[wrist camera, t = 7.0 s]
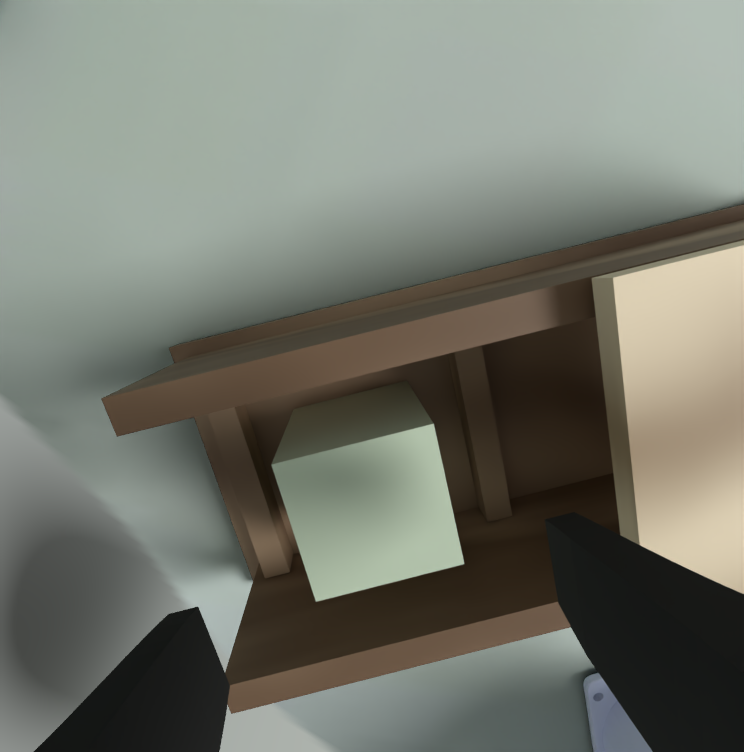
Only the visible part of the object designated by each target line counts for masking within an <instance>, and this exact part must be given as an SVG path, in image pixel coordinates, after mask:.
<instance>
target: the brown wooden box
mask: <svg viewBox="0 0 744 752" xmlns="http://www.w3.org/2000/svg"><path fill="white" fill-rule="evenodd" d="M742 240H744V204H741V205H737V206H733V207H729V208H725V209H721V210H717V211H713V212H709V213H705V214H701V215H697V216H693V217H689V218H685V219H681V220H677V221H673V222H669V223H665V224H661V225H657V226H653V227H649V228H645V229H641V230H637V231H633V232H629V233H625V234H621V235H617V236H613V237H609V238H605V239H601V240H597V241H593V242H589V243H585V244H581V245H576V246H572V247H568V248H564V249H560V250H556V251H552V252H548V253H544V254H540V255H536V256H532V257H528V258H524V259H520V260H516V261H512V262H508V263H504V264H500V265H496V266H492V267H488V268H484V269H480V270H476V271H472V272H468V273H464V274H460V275H456V276H452V277H448V278H444V279H440V280H436V281H432V282H428V283H424V284H420V285H416V286H412V287H408V288H404V289H399V290H395V291H391V292H387V293H383V294H379V295H375V296H371V297H367V298H363V299H359V300H355V301H351V302H347V303H343V304H339V305H335V306H331V307H327V308H323V309H319V310H315V311H311V312H307V313H303V314H299V315H295V316H291V317H287V318H283V319H279V320H275V321H271V322H267V323H263V324H259V325H255V326H251V327H247V328H243V329H239V330H235V331H231V332H226V333H222V334H218V335H214V336H210V337H206V338H202V339H198V340H194V341H190V342H186V343H182V344H178V345H175V346H173V347H170V348H169V350H170V353H171V355H172V358H173V361H174V364H172V365H170V366H168V367H166V368H164V369H162V370H160V371H158V372H156V373H154V374H152V375H149V376H147V377H145V378H143V379H141V380H139V381H137V382H135V383H133V384H131V385H129V386H126V387H124V388H122V389H120V390H118V391H116V392H114V393H112V394H110V395H108V396H106V397H103V398H101V399H102V402H103V404H104V406H105V409H106V411H107V414H108V416H109V419H110V421H111V423H112V426H113V428H114V431H115V433H116V435H117V436H121V435H125V434H129V433H133V432H137V431H141V430H145V429H149V428H153V427H157V426H161V425H165V424H169V423H173V422H177V421H181V420H185V419H189V418H193V417H194V419H195V422H196V424H197V427H198V430H199V433H200V436H201V438H202V441H203V444H204V447H205V449H206V452H207V455H208V458H209V460H210V463H211V466H212V469H213V471H214V474H215V477H216V480H217V483H218V485H219V488H220V491H221V494H222V496H223V499H224V502H225V505H226V507H227V510H228V513H229V516H230V518H231V521H232V524H233V527H234V529H235V532H236V535H237V538H238V541H239V543H240V546H241V549H242V552H243V554H244V557H245V560H246V563H247V565H248V568H249V571H250V574H251V576H252V579H253V584H252V587H251V591H250V594H249V597H248V600H247V604H246V607H245V610H244V613H243V617H242V620H241V623H240V626H239V630H238V633H237V636H236V639H235V643H234V646H233V649H232V652H231V656H230V659H229V662H228V666H227V669H226V672H225V675H226V677H227V680H228V682H229V685H230V690H229V696H228V703H227V704H228V707H229V709H230V711H231V713H236V712H240V711H244V710H248V709H252V708H256V707H259V706H264V705H268V704H272V703H276V702H279V701H283V700H287V699H291V698H295V697H299V696H303V695H307V694H311V693H315V692H319V691H322V690H326V689H330V688H334V687H338V686H342V685H346V684H350V683H354V682H358V681H362V680H366V679H369V678H373V677H377V676H381V675H385V674H389V673H393V672H397V671H401V670H405V669H409V668H413V667H416V666H420V665H424V664H428V663H432V662H436V661H440V660H444V659H448V658H452V657H456V656H459V655H463V654H467V653H471V652H475V651H479V650H483V649H487V648H491V647H495V646H499V645H503V644H506V643H510V642H514V641H518V640H522V639H526V638H530V637H534V636H538V635H542V634H546V633H550V632H553V631H557V630H561V629H565V628H569V627H571V626H570V624H569V622H568V620H567V618H566V617H565V615H564V613H563V611H562V609H561V607H560V605H559V604H558V598H557V592H556V586H555V580H554V574H553V568H552V561H551V555H550V549H549V543H548V537H547V530H546V524H545V519H548V518H552V517H556V516H560V515H564V514H568V513H572V512H575V513H577V514H579V515H581V516H583V517H586V518H588V519H590V520H592V521H594V522H595V523H597V524H599V525H601V526H603V527H605V528H607V529H609V530H611V531H613V532H615V533H617V534H619V535H620V527H619V518H618V509H617V500H616V491H615V482H614V474H613V465H612V456H611V447H610V438H609V429H608V420H607V411H606V402H605V394H604V385H603V376H602V367H601V358H600V349H599V340H598V331H597V322H596V313H595V305H594V296H593V287H592V278H594V277H598V276H602V275H606V274H610V273H614V272H618V271H622V270H626V269H630V268H634V267H638V266H642V265H646V264H650V263H654V262H658V261H662V260H666V259H670V258H674V257H678V256H682V255H686V254H690V253H694V252H698V251H702V250H706V249H710V248H714V247H718V246H722V245H726V244H730V243H734V242H738V241H742ZM403 381H407V382H408V383H409V385H410V386H411V388H412V390H413V391H414V393H415V394H416V396H417V398H418V399H419V401H420V402H421V404H422V406H423V407H424V409H425V411H426V412H427V414H428V415H429V417H430V419H431V420H432V422H433V423H434V427H435V432H436V436H437V441H438V446H439V450H440V455H441V459H442V464H443V468H444V473H445V478H446V482H447V487H448V491H449V496H450V500H451V505H452V509H453V514H454V519H455V523H456V528H457V532H458V537H459V541H460V546H461V551H462V555H463V560H464V564H463V565H459V566H455V567H451V568H447V569H443V570H439V571H435V572H431V573H427V574H423V575H419V576H415V577H412V578H408V579H404V580H400V581H396V582H392V583H388V584H384V585H380V586H376V587H372V588H368V589H364V590H361V591H357V592H353V593H349V594H345V595H341V596H337V597H333V598H329V599H325V600H321V601H317V602H316V600H315V597H314V594H313V591H312V588H311V585H310V582H309V579H308V576H307V573H306V570H305V567H304V563H303V560H302V557H301V554H300V551H299V548H298V545H297V542H296V539H295V536H294V533H293V530H292V527H291V524H290V520H289V517H288V514H287V511H286V508H285V505H284V502H283V499H282V496H281V493H280V490H279V487H278V484H277V481H276V477H275V474H274V471H273V468H272V465H271V464H272V462H273V459H274V457H275V454H276V452H277V449H278V447H279V444H280V442H281V439H282V437H283V435H284V432H285V430H286V427H287V425H288V422H289V420H290V417H291V415H292V412H293V410H294V409H296V408H300V407H304V406H308V405H312V404H316V403H319V402H323V401H327V400H331V399H335V398H339V397H343V396H347V395H351V394H355V393H359V392H363V391H367V390H371V389H375V388H379V387H383V386H387V385H391V384H395V383H399V382H403Z"/></svg>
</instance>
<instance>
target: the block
mask: <svg viewBox="0 0 744 752" xmlns="http://www.w3.org/2000/svg"><path fill="white" fill-rule="evenodd" d="M271 465H272V468H273V471H274V474H275V477H276V481H277V484H278V487H279V490H280V493H281V496H282V499H283V502H284V505H285V508H286V511H287V514H288V517H289V520H290V524H291V527H292V530H293V533H294V536H295V539H296V542H297V545H298V548H299V551H300V554H301V557H302V560H303V563H304V567H305V570H306V573H307V576H308V579H309V582H310V585H311V588H312V591H313V594H314V597H315V600H316V602H317V601H321V600H325V599H329V598H333V597H337V596H341V595H345V594H349V593H353V592H357V591H361V590H364V589H368V588H372V587H376V586H380V585H384V584H388V583H392V582H396V581H400V580H404V579H408V578H412V577H415V576H419V575H423V574H427V573H431V572H435V571H439V570H443V569H447V568H451V567H455V566H459V565H463V564H464V560H463V555H462V551H461V546H460V541H459V537H458V532H457V528H456V523H455V519H454V514H453V509H452V505H451V500H450V496H449V491H448V487H447V482H446V478H445V473H444V468H443V464H442V459H441V455H440V450H439V446H438V441H437V436H436V432H435V427H434V423H433V422H432V420H431V419H430V417H429V415H428V414H427V412H426V411H425V409H424V407H423V406H422V404H421V402H420V401H419V399H418V398H417V396H416V394H415V393H414V391H413V390H412V388H411V386H410V385H409V383H408V382H407V381H403V382H399V383H395V384H391V385H387V386H383V387H379V388H375V389H371V390H367V391H363V392H359V393H355V394H351V395H347V396H343V397H339V398H335V399H331V400H327V401H323V402H319V403H316V404H312V405H308V406H304V407H300V408H296V409H294V410H293V412H292V415H291V417H290V420H289V422H288V425H287V427H286V430H285V432H284V435H283V437H282V439H281V442H280V444H279V447H278V449H277V452H276V454H275V457H274V459H273V462H272V464H271Z"/></svg>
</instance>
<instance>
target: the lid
mask: <svg viewBox="0 0 744 752" xmlns="http://www.w3.org/2000/svg"><path fill="white" fill-rule="evenodd" d="M592 287H593V296H594V305H595V313H596V322H597V331H598V340H599V349H600V358H601V367H602V376H603V385H604V394H605V402H606V411H607V420H608V429H609V438H610V447H611V456H612V465H613V474H614V482H615V491H616V500H617V509H618V518H619V527H620V535H621V536H623V537H625V538H627V539H629V540H631V541H633V542H635V543H637V544H639V545H641V546H642V547H644V548H646V549H648V550H651V551H653V552H655V553H657V554H659V555H661V556H663V557H665V558H667V559H669V560H671V561H673V562H675V563H677V564H679V565H681V566H683V567H685V568H687V569H689V570H692V571H694V572H696V573H698V574H700V575H702V576H704V577H707V578H709V579H711V580H713V581H715V582H717V583H720V584H722V585H724V586H726V587H729V588H731V589H733V590H735V591H738V592H740V593H742V594H744V240H742V241H738V242H734V243H730V244H726V245H722V246H718V247H714V248H710V249H706V250H702V251H698V252H694V253H690V254H686V255H682V256H678V257H674V258H670V259H666V260H662V261H658V262H654V263H650V264H646V265H642V266H638V267H634V268H630V269H626V270H622V271H618V272H614V273H610V274H606V275H602V276H598V277H594V278H592Z"/></svg>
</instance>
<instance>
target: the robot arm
mask: <svg viewBox="0 0 744 752" xmlns="http://www.w3.org/2000/svg"><path fill="white" fill-rule="evenodd" d="M545 524H546V530H547V537H548V543H549V549H550V555H551V561H552V568H553V574H554V580H555V586H556V592H557V598H558V604H559V605H560V607H561V609H562V611H563V613H564V615H565V617H566V618H567V620H568V622H569V624H570V626H571V628H572V630H573V632H574V633H575V635H576V637H577V639H578V640H579V642H580V644H581V646H582V648H583V649H584V651H585V653H586V655H587V656H588V658H589V659H590V661H591V662H592V664H593V665H594V667H595V668H596V670H597V671H598V673H596V674H592V675H589V676H588V677H586V678H585V680H584V684H583V686H584V693H585V699H586V706H587V712H588V719H589V726H590V732H591V739H592V745H593V752H744V594H742V593H740V592H738V591H735V590H733V589H731V588H729V587H726V586H724V585H722V584H720V583H717V582H715V581H713V580H711V579H709V578H707V577H704V576H702V575H700V574H698V573H696V572H694V571H692V570H689V569H687V568H685V567H683V566H681V565H679V564H677V563H675V562H673V561H671V560H669V559H667V558H665V557H663V556H661V555H659V554H657V553H655V552H653V551H651V550H648V549H646V548H644V547H642V546H641V545H639V544H637V543H635V542H633V541H631V540H629V539H627V538H625V537H623V536H621V535H619V534H617V533H615V532H613V531H611V530H609V529H607V528H605V527H603V526H601V525H599V524H597V523H595V522H594V521H592V520H590V519H588V518H586V517H583V516H581V515H579V514H577V513H575V512H572V513H568V514H564V515H560V516H556V517H552V518H548V519H545ZM229 690H230V685H229V682H228V680H227V677H226V675H225V672H224V670H223V667H222V665H221V662H220V660H219V657H218V655H217V652H216V650H215V647H214V645H213V643H212V640H211V638H210V635H209V633H208V630H207V628H206V625H205V623H204V620H203V618H202V615H201V613H200V610H199V608H198V607H195V608H191V609H187V610H183V611H179V612H175V613H171V614H169V615H167V616H166V617H165V618H164V619H163V620H162V621H161V622H160V623H159V624H158V625H157V626H156V627H155V628H154V629H153V630H152V631H151V632H150V633H149V634H148V635H147V636H146V637H145V638H144V639H143V640H142V641H141V642H140V643H139V644H138V645H137V646H136V647H135V648H134V649H133V650H132V651H131V652H130V653H129V654H128V655H127V656H126V657H125V658H124V659H123V660H122V661H121V663H120V664H119V665H118V666H117V667H116V668H115V669H114V670H113V671H112V672H111V673H110V674H109V675H108V676H107V677H106V678H105V680H103V681H102V682H101V683H100V684H99V686H98V687H97V688H96V689H95V690H94V691H93V692H92V693H91V694H90V695H89V696H88V697H87V698H86V699H85V700H84V701H83V703H81V705H79V707H77V709H76V710H75V711H74V712H73V713H72V714H71V715H70V716H69V717H68V718H67V719H66V720H65V721H64V722H63V723H62V724H61V725H60V726H59V727H58V728H57V729H56V730H55V731H54V732H53V733H52V734H51V735H50V736H49V737H48V738H47V739H46V740H45V741H44V742H43V743H42V744H41V745H40V746H39V747H38V748H37V749H36V750H35V751H34V752H219V750H220V745H221V739H222V734H223V728H224V722H225V716H226V710H227V703H228V696H229Z"/></svg>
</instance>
